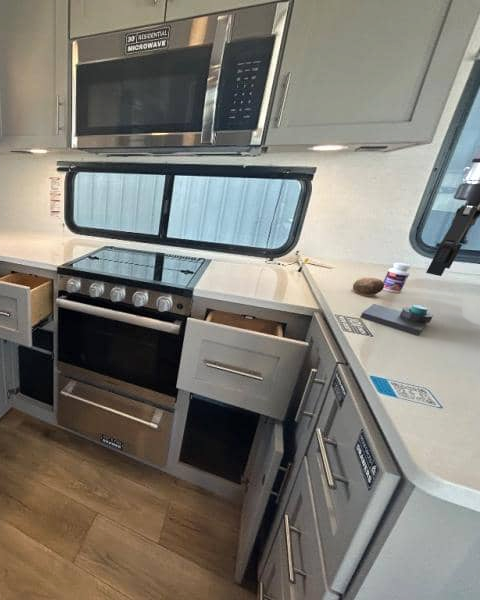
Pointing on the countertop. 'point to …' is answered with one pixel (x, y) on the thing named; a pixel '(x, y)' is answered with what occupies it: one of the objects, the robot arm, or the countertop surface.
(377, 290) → the brown oval lump
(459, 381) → the countertop surface
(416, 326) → the scale
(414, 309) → the tare button
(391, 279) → the pill bottle
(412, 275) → the countertop surface
